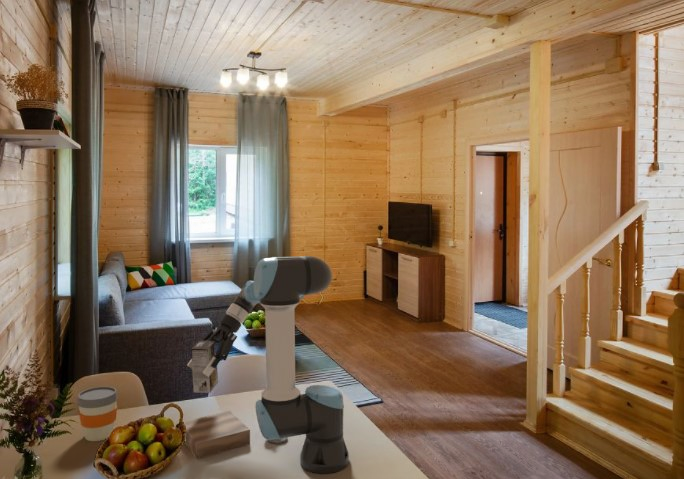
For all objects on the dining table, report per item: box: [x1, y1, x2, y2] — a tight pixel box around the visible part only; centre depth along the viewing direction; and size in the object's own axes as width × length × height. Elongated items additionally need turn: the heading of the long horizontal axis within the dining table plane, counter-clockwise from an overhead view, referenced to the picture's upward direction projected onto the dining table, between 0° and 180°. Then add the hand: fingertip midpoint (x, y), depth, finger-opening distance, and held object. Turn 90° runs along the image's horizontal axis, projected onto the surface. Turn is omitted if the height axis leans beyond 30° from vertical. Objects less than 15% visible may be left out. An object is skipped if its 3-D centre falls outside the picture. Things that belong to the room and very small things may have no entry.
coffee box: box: [190, 340, 219, 394], centre depth 192 cm, size 9×6×16 cm
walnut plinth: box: [182, 410, 251, 460], centre depth 181 cm, size 18×18×5 cm
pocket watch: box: [268, 437, 289, 444], centre depth 182 cm, size 8×8×10 cm
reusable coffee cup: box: [76, 386, 118, 442], centre depth 184 cm, size 13×13×15 cm
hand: (197, 371), depth 190 cm, fingers closed on coffee box, 10 cm apart
